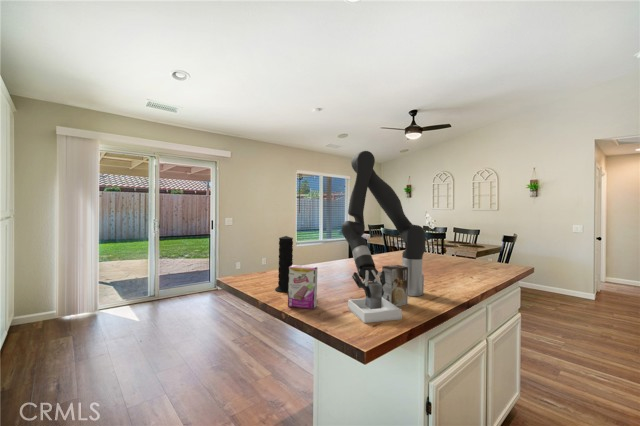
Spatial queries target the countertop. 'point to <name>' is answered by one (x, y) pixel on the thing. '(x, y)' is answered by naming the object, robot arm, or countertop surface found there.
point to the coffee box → (396, 284)
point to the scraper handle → (374, 296)
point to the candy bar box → (302, 287)
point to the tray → (374, 311)
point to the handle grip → (284, 262)
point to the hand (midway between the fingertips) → (375, 296)
